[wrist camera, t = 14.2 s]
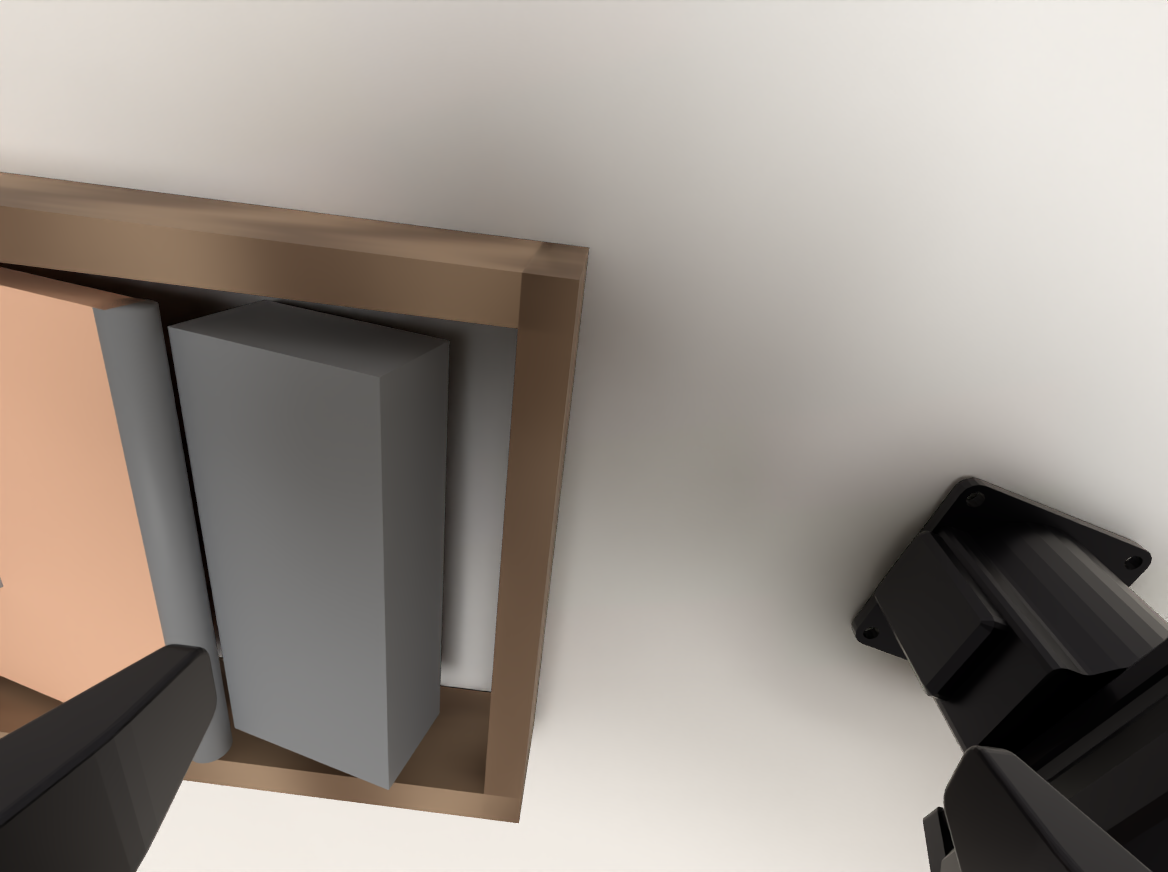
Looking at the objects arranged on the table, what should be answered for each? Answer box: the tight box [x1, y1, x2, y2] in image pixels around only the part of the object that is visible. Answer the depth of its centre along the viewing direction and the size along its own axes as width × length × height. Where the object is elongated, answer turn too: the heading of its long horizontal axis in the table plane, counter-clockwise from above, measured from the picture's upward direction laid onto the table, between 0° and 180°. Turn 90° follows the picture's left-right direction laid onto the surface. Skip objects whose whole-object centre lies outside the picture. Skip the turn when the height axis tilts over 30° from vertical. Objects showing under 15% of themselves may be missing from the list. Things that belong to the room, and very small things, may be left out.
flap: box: [0, 267, 449, 790], centre depth 19 cm, size 20×14×4 cm
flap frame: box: [0, 172, 589, 823], centre depth 19 cm, size 25×18×4 cm
